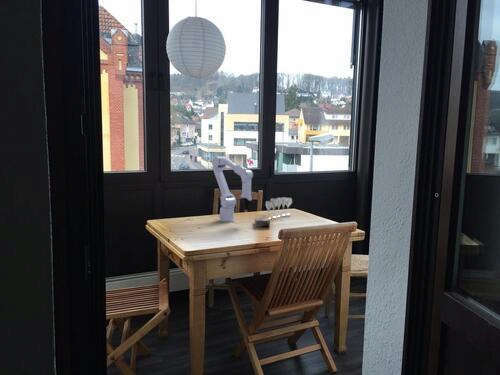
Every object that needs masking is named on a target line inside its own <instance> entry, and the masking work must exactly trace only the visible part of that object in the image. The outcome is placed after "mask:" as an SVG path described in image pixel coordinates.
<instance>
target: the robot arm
mask: <svg viewBox="0 0 500 375" xmlns="http://www.w3.org/2000/svg"><path fill="white" fill-rule="evenodd" d="M211 165H212V169H213V173H214V176H215V179H216V182H217V184H218V185H217V186H219V189H220V190H219V191H220V194H221V196H220V198H219V199H220V200H219V201H220V206H221V207H220V209H219V221H220V222H226V223H227V222H229V223H230V222H231V223H233V222H235V220H236V219H235V206H236V205H237V198H236V197H235V196H234V194H233V193H232V192H231V191H230V189H229V186H228V183H227V180H226V178H225V174H224V173H223V170H224V169H225V167H227V166H228V167H229V168H231V169H232V170H233V172H234V174H237V175H238V176H240V178H241V184H242V185H241V195H239V196H240V198H241V202H242V205H243V209H244V211H248V210H249V207H250V204H251V202H252V199H253V198H252V179H253V177H254V173H253V171H252V169H247V167H244V166H243V165H242V164H236V163H235V162H234V161H233V160H230V158H229V157H227V156H226V155H223V156H222V155H221V156H213V158H212V160H211Z"/></svg>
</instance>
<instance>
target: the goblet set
mask: <svg viewBox="0 0 500 375" xmlns="http://www.w3.org/2000/svg"><path fill="white" fill-rule="evenodd" d="M292 204H293V199H292V197H284V196H283V197H276V198H270V200H266V201H265V207H266V209H267V212H268V214H270V212H271V209H272V211H273V212H272V213H275V209H276V208H278V210H277V212H278V215H276V216H275V214H273V216H270V217H269V218H270V220H272V219H276V218H278V217H282V216H286V215H287V216H288V215H291V213H289V212H287V213H284V210H285V205H286V207H287V209H289V207H290V206H291V205H292ZM281 205H282V214H281V215H280V207H281Z"/></svg>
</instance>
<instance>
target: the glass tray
mask: <svg viewBox="0 0 500 375" xmlns="http://www.w3.org/2000/svg"><path fill="white" fill-rule="evenodd" d="M254 226H256V218H254ZM267 226H268V221H258V227H267Z"/></svg>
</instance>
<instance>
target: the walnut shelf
mask: <svg viewBox="0 0 500 375" xmlns="http://www.w3.org/2000/svg"><path fill="white" fill-rule="evenodd" d="M270 218H271V217H270V214H268V215H265V214H262V215H261V214H256V215H255V219H256V225H255V229H258V228H259V226H258V221H268V223H267V226H268V229H270V227H271V219H270Z"/></svg>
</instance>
